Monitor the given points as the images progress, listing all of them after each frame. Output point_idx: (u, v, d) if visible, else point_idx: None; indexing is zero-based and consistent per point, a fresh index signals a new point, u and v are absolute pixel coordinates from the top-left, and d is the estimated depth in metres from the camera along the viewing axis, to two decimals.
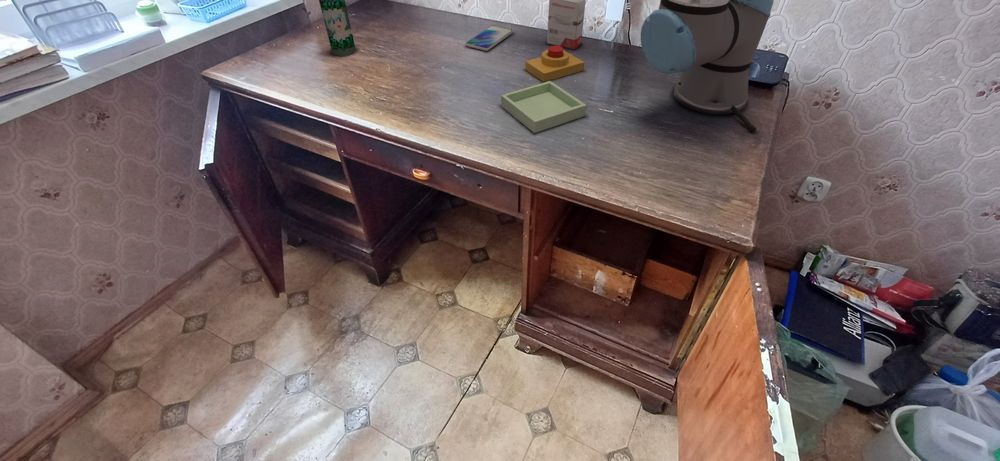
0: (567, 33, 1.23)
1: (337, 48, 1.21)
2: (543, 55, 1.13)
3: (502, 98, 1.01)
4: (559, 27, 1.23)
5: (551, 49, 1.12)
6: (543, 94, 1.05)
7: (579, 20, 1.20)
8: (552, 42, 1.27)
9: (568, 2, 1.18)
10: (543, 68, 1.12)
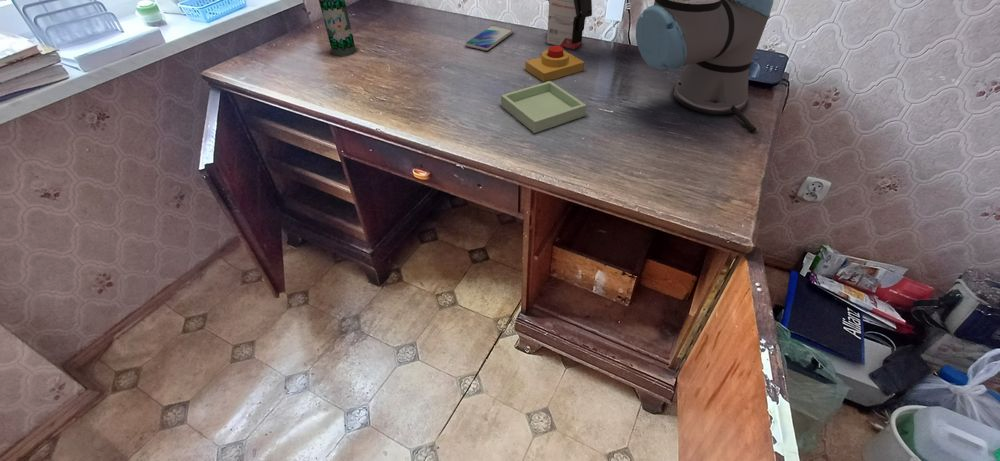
0: (567, 33, 1.23)
1: (337, 48, 1.21)
2: (543, 55, 1.13)
3: (502, 98, 1.01)
4: (559, 27, 1.23)
5: (551, 49, 1.12)
6: (543, 94, 1.05)
7: None
8: (552, 42, 1.27)
9: (568, 2, 1.18)
10: (543, 68, 1.12)
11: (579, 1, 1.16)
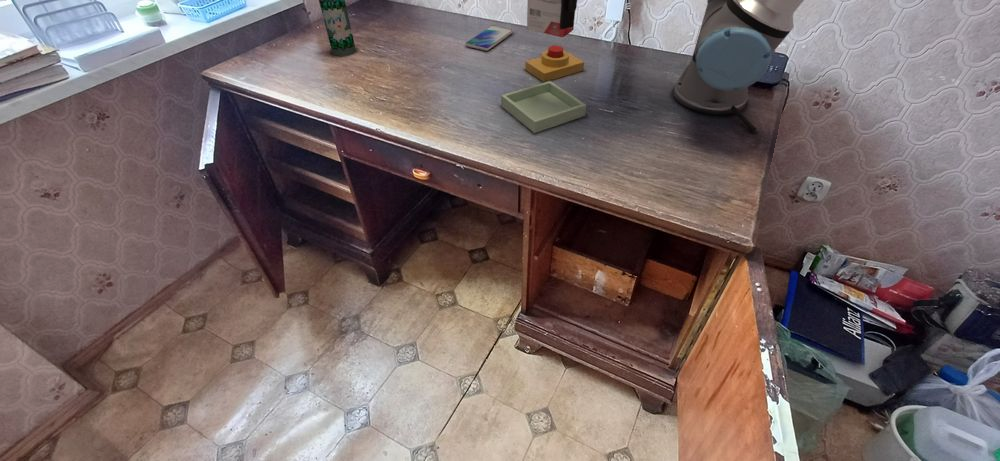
0: (554, 15, 0.89)
1: (337, 48, 1.21)
2: (543, 55, 1.13)
3: (502, 98, 1.01)
4: (543, 7, 0.89)
5: (551, 49, 1.12)
6: (543, 94, 1.05)
7: None
8: (534, 28, 0.93)
9: None
10: (543, 68, 1.12)
11: None
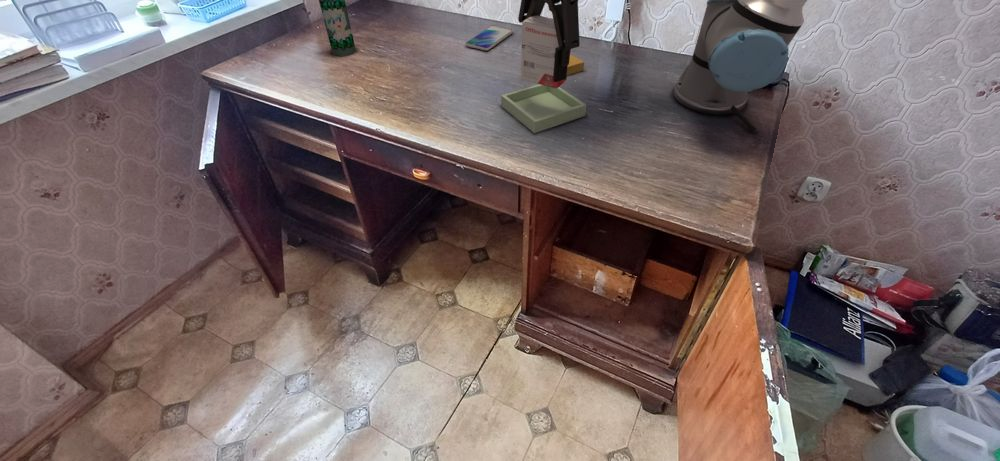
0: (547, 68, 0.91)
1: (337, 48, 1.21)
2: None
3: (502, 98, 1.01)
4: (536, 60, 0.92)
5: None
6: (543, 94, 1.05)
7: None
8: (528, 78, 0.95)
9: (547, 27, 0.86)
10: None
11: (562, 27, 0.84)
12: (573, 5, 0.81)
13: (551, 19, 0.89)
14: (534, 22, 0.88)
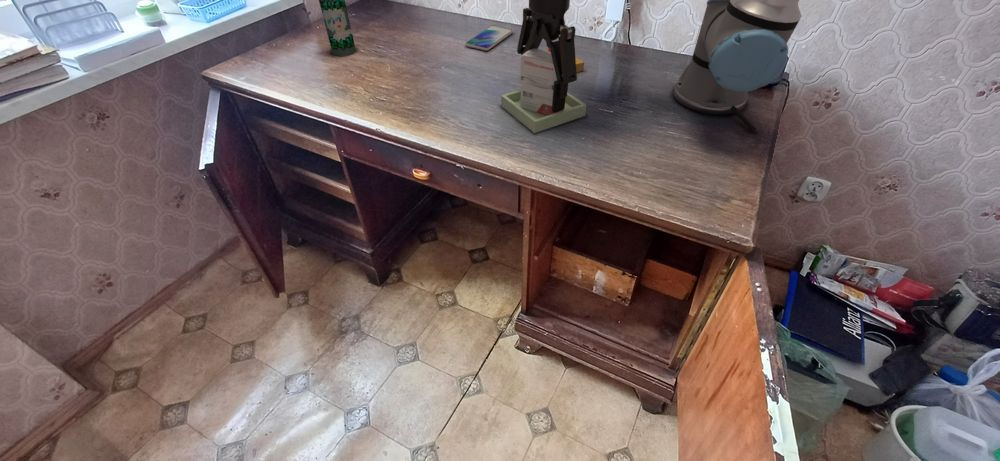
0: (545, 98, 0.96)
1: (337, 48, 1.21)
2: None
3: (502, 98, 1.01)
4: (535, 90, 0.96)
5: None
6: None
7: None
8: (527, 107, 1.00)
9: (545, 62, 0.91)
10: None
11: (560, 62, 0.89)
12: (570, 43, 0.85)
13: (548, 53, 0.94)
14: (532, 56, 0.92)
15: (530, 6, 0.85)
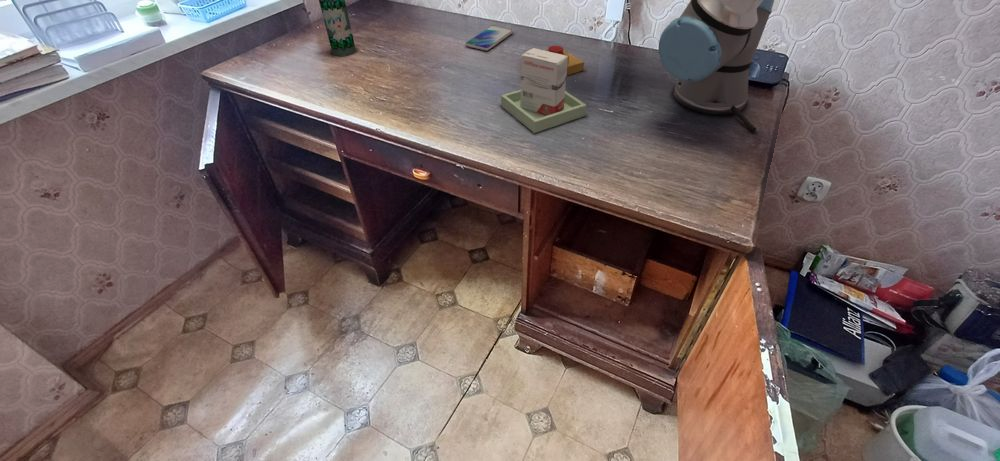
0: (545, 98, 0.96)
1: (337, 48, 1.21)
2: None
3: (502, 98, 1.01)
4: (535, 90, 0.96)
5: (551, 49, 1.12)
6: None
7: (559, 83, 0.93)
8: (527, 107, 1.00)
9: (545, 61, 0.91)
10: None
11: None
12: None
13: (548, 52, 0.94)
14: (532, 56, 0.92)
15: None
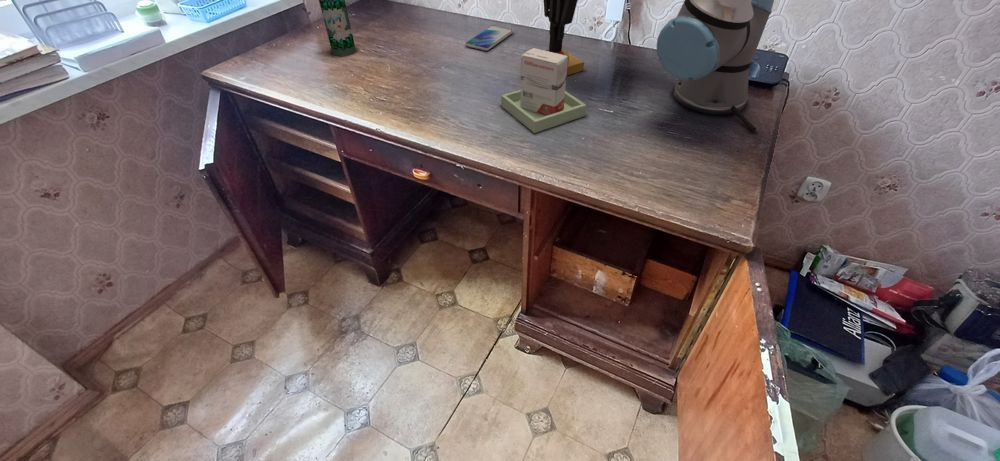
0: (545, 98, 0.96)
1: (337, 48, 1.21)
2: None
3: (502, 98, 1.01)
4: (535, 90, 0.96)
5: None
6: None
7: (559, 83, 0.93)
8: (527, 107, 1.00)
9: (545, 61, 0.91)
10: None
11: (562, 8, 1.04)
12: None
13: (548, 52, 0.94)
14: (532, 56, 0.92)
15: None
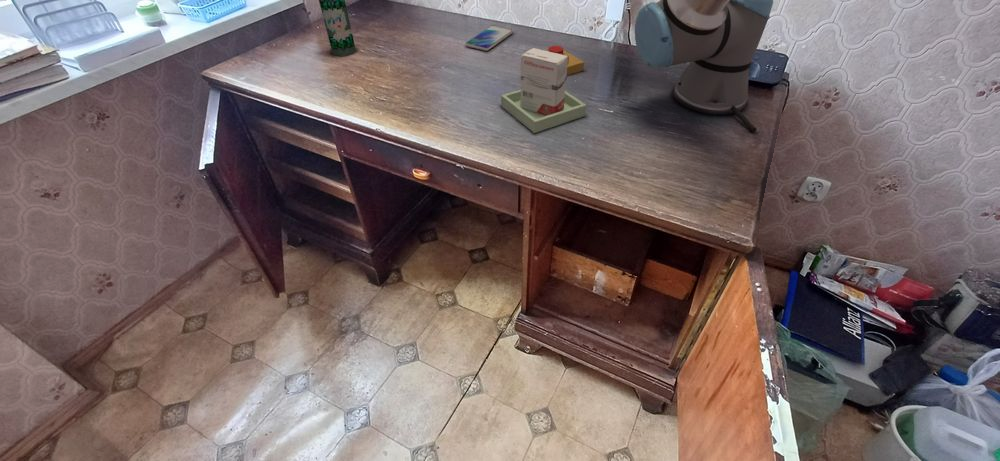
0: (545, 98, 0.96)
1: (337, 48, 1.21)
2: None
3: (502, 98, 1.01)
4: (535, 90, 0.96)
5: (551, 49, 1.12)
6: None
7: (559, 83, 0.93)
8: (527, 107, 1.00)
9: (545, 61, 0.91)
10: None
11: None
12: None
13: (548, 52, 0.94)
14: (532, 56, 0.92)
15: None
